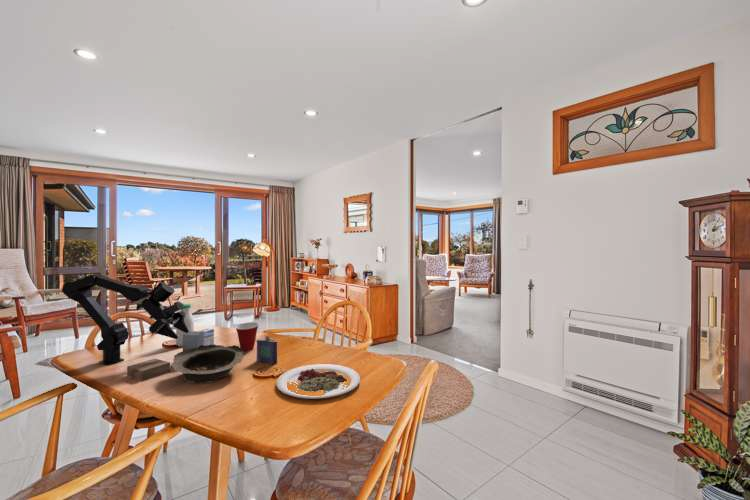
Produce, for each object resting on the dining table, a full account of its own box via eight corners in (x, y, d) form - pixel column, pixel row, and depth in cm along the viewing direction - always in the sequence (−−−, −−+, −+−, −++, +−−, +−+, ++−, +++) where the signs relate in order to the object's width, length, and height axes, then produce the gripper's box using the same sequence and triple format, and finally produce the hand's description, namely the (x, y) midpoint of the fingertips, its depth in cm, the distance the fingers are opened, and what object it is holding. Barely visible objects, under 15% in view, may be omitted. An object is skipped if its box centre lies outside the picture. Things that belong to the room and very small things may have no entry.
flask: (255, 361, 140) (255, 335, 140) (259, 359, 143) (260, 333, 143) (274, 365, 136) (275, 337, 136) (279, 362, 139) (279, 335, 139)
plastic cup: (231, 348, 157) (231, 324, 157) (253, 344, 164) (253, 320, 164) (239, 354, 149) (239, 328, 149) (262, 349, 156) (262, 324, 156)
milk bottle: (197, 343, 164) (197, 304, 164) (181, 347, 157) (181, 306, 157) (188, 341, 168) (189, 302, 168) (172, 344, 161) (173, 304, 161)
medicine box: (202, 351, 152) (202, 332, 152) (194, 350, 153) (194, 332, 153) (214, 346, 160) (214, 328, 160) (206, 345, 161) (206, 328, 161)
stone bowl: (214, 359, 141) (216, 338, 140) (256, 375, 130) (258, 352, 130) (155, 379, 119) (157, 354, 118) (199, 399, 108) (202, 372, 107)
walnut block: (127, 376, 123) (127, 366, 123) (154, 368, 132) (155, 358, 132) (142, 382, 118) (142, 371, 118) (170, 372, 127) (170, 362, 127)
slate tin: (182, 363, 136) (182, 335, 136) (189, 358, 142) (189, 331, 142) (197, 363, 137) (197, 335, 137) (203, 358, 143) (203, 331, 143)
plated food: (337, 410, 100) (337, 399, 100) (257, 393, 110) (257, 383, 110) (371, 375, 128) (371, 366, 128) (306, 364, 138) (306, 356, 138)
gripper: (157, 299, 129) (185, 327, 130) (181, 293, 148) (206, 317, 149) (136, 319, 129) (165, 347, 130) (162, 310, 147) (188, 334, 148)
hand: (182, 335), depth 139 cm, fingers open, 9 cm apart
